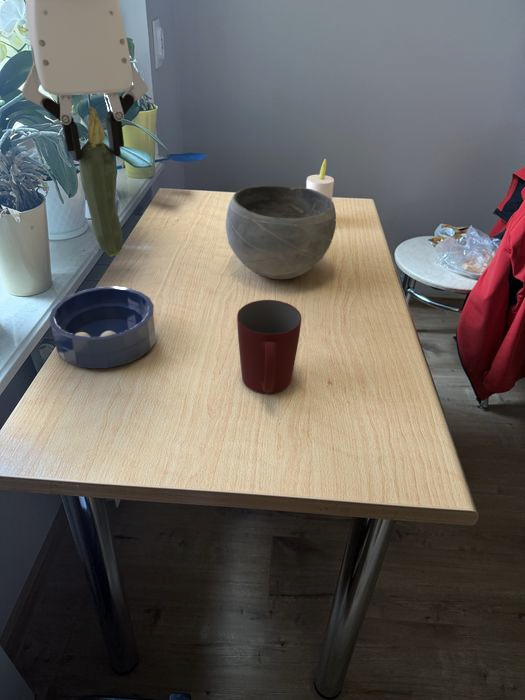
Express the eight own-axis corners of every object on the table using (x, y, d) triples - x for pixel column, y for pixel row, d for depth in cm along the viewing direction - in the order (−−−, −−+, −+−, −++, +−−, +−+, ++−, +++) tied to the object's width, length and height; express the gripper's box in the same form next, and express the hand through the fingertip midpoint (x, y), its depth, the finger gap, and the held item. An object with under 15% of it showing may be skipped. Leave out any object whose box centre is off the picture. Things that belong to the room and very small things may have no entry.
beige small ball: (94, 336, 81) (97, 340, 84) (77, 326, 81) (80, 330, 84) (83, 353, 80) (86, 356, 83) (65, 342, 80) (69, 346, 83)
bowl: (342, 293, 101) (352, 218, 92) (232, 299, 98) (231, 222, 89) (316, 246, 118) (322, 178, 109) (221, 250, 115) (220, 181, 106)
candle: (298, 219, 130) (302, 157, 121) (320, 215, 132) (326, 153, 124) (311, 229, 125) (317, 164, 117) (334, 224, 128) (341, 161, 119)
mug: (299, 413, 74) (305, 348, 67) (236, 412, 73) (235, 347, 67) (294, 360, 83) (299, 300, 77) (237, 360, 83) (237, 299, 76)
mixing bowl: (65, 382, 77) (57, 349, 74) (50, 328, 89) (43, 297, 85) (168, 357, 83) (165, 325, 80) (142, 309, 94) (138, 279, 91)
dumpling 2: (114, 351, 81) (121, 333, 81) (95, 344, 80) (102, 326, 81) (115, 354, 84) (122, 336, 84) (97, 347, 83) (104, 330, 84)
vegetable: (121, 267, 73) (105, 117, 60) (89, 266, 73) (66, 114, 60) (127, 251, 76) (113, 105, 63) (96, 249, 76) (76, 102, 63)
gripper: (140, -27, 60) (154, 141, 71) (-22, -32, 54) (20, 153, 64) (159, -26, 54) (171, 157, 65) (-19, -31, 48) (27, 171, 59)
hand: (96, 153), depth 65 cm, fingers closed on vegetable, 4 cm apart
